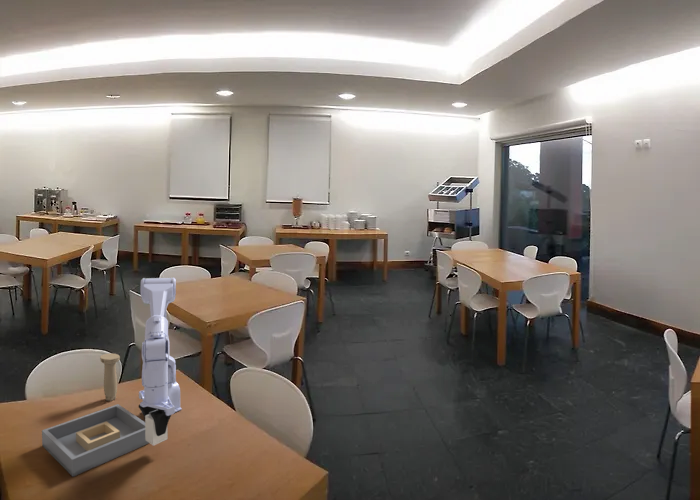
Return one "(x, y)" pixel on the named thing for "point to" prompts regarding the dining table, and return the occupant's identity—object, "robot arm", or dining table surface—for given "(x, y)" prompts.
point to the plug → (153, 431)
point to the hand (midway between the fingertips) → (156, 431)
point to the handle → (110, 375)
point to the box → (94, 438)
